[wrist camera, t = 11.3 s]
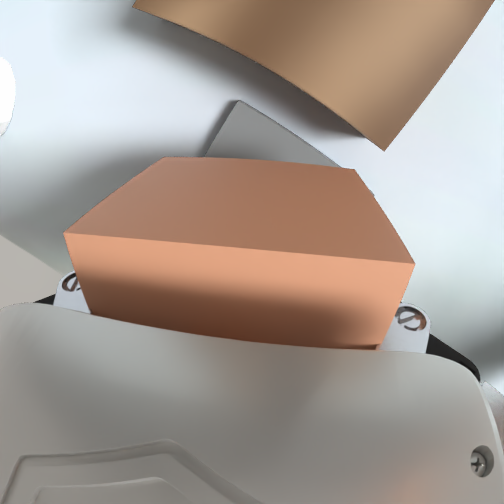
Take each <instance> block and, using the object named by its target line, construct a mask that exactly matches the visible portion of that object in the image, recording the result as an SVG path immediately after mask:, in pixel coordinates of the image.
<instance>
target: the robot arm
mask: <svg viewBox="0 0 504 504" xmlns="http://www.w3.org/2000/svg"><path fill="white" fill-rule="evenodd" d="M430 327H431V321H430V319H429V316H428V315H427V314H426V313H425V311H423V310H422V309H421V308H419V307H417V306H415V305H413V304H409V303H402V302H400V304H399V307H398V309H397V311H396V314H395V316H394V318H393V320H392V323H391V325H390V327H389V329H388V331H387V334H386V336H385V338H384V340H383V342H382V344H377V346H376V349H375V350H360V349H336V348H319V347H304V346H292V345H280V344H269V343H259V342H250V341H241V340H233V339H225V338H218V337H210V336H203V335H197V334H190V333H184V332H178V331H172V330H166V329H161V328H155V327H150V326H145V325H140V324H135V323H130V322H125V321H120V320H115V319H110V318H106V317H101V316H97V315H94V314H93V312H92V309H89V308H88V306H87V303H86V301H85V298H84V296H83V293H82V290H81V287H80V285H79V282H78V279H77V276H76V273H75V271H72V272H70V273H68V274H66V275H65V276H64V277H63V278H62V279H61V280H60V282H59V284H58V287H57V291H56V294H54V295H52V296H49V297H46V298H44V299H41V300H39V301H36V302H33V303H20V304H13V305H10V306H7V307H4V308H2V309H1V310H0V504H504V396H503V395H502V394H501V393H500V392H499V391H497V390H496V389H495V388H494V387H492V386H491V385H490V384H489V383H488V382H486V381H484V382H483V384H482V383H481V382H480V374H479V371H478V369H477V368H476V366H475V365H474V364H473V363H472V362H471V361H470V360H468V359H467V358H465V357H464V356H463V355H461V354H460V353H458V352H457V351H455V350H454V349H452V348H451V347H449V346H448V345H446V344H445V343H443V342H442V341H440V340H439V339H437V338H436V337H434V336H433V335H431V334H430Z"/></svg>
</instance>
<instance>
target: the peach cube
mask: <svg viewBox="0 0 504 504" xmlns="http://www.w3.org/2000/svg"><path fill="white" fill-rule="evenodd" d="M63 234H64V238H65V241H66V245H67V248H68V251H69V255H70V258H71V261H72V264H73V267H74V270H75V273H76V276H77V279H78V282H79V285H80V287H81V290H82V293H83V296H84V298H85V301H86V303H87V306H88V308H89V309H92V312H93V314H94V315H97V316H101V317H106V318H110V319H115V320H120V321H125V322H130V323H135V324H140V325H145V326H150V327H155V328H161V329H166V330H172V331H178V332H184V333H190V334H197V335H203V336H210V337H218V338H225V339H233V340H241V341H250V342H259V343H269V344H280V345H292V346H304V347H319V348H336V349H360V350H375V349H376V346H377V344H382V342H383V340H384V338H385V336H386V334H387V331H388V329H389V327H390V325H391V323H392V320H393V318H394V316H395V314H396V311H397V309H398V307H399V304H400V302H401V300H402V297H403V295H404V292H405V290H406V287H407V285H408V282H409V280H410V277H411V274H412V272H413V269H414V266H415V262H414V261H413V259H412V257H411V255H410V254H409V252H408V250H407V249H406V247H405V245H404V243H403V242H402V240H401V238H400V237H399V235H398V234H397V232H396V230H395V229H394V227H393V225H392V224H391V222H390V221H389V219H388V218H387V216H386V214H385V213H384V211H383V210H382V208H381V207H380V205H379V204H378V202H377V201H376V199H375V198H374V196H373V195H372V193H371V192H370V191H369V189H368V188H367V186H366V185H365V183H364V182H363V181H362V179H361V178H360V176H359V175H358V174H357V172H356V171H355V169H347V168H340V167H332V166H323V165H315V164H305V163H295V162H283V161H271V160H256V159H238V158H212V157H163V158H162V159H160V160H158V161H157V162H155V163H154V164H152V165H151V166H149V167H148V168H147V169H145V170H144V171H142V172H141V173H139V174H138V175H136V176H135V177H134V178H132V179H131V180H129V181H128V182H127V183H125V184H124V185H122V186H121V187H120V188H118V189H117V190H116V191H114V192H113V193H112V194H110V195H109V196H108V197H106V198H105V199H104V200H102V201H101V202H100V203H99V204H97V205H96V206H95V207H93V208H92V209H91V210H90V211H88V212H87V213H86V214H85V215H83V216H82V217H81V218H80V219H79V220H77V221H76V222H75V223H74V224H73V225H71V226H70V227H69V228H68V229H67V230H66V231H64V232H63Z"/></svg>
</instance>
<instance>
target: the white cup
mask: <svg viewBox="0 0 504 504" xmlns="http://www.w3.org/2000/svg"><path fill="white" fill-rule="evenodd" d="M14 104H15V78H14V75H13V71H12V68H11V65H10V64H9V63H8V62H7V61H6V60H5V59H4V58H3V57H0V136H1V135H2V134H4V132H5V130H6V128H7V126H8V124H9V123H10V121H11V118H12V113H13V109H14Z"/></svg>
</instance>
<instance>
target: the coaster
mask: <svg viewBox="0 0 504 504" xmlns="http://www.w3.org/2000/svg"><path fill="white" fill-rule="evenodd" d="M204 157H212V158H238V159H256V160H271V161H283V162H295V163H305V164H315V165H323V166H332V167H340V166H339V165H337V164H336V163H335V162H333V161H332V160H331V159H329V158H328V157H327V156H325V155H324V154H323V153H321V152H320V151H318V150H317V149H316V148H314V147H313V146H311V145H310V144H308V143H307V142H306V141H304V140H303V139H301V138H300V137H298V136H297V135H295V134H294V133H292V132H291V131H289V130H288V129H286V128H285V127H283V126H282V125H280V124H279V123H277V122H276V121H274V120H272V119H271V118H269V117H268V116H266V115H264V114H263V113H261V112H260V111H258V110H256V109H255V108H253V107H251V106H250V105H248V104H246V103H245V102H243V101H241V100H239V101H238V102H237V103H236V105H235V106H234V108H233V110H232V111H231V113H230V114H229V116H228V118H227V119H226V121H225V122H224V124H223V126H222V127H221V129H220V130H219V132H218V134H217V135H216V137H215V139H214V140H213V142H212V144H211V145H210V147H209V149H208V151H207V152H206V154H205V156H204ZM340 168H341V167H340ZM369 191H370V192H371V193H372V191H371V190H369ZM372 195H373V196H374V194H373V193H372Z"/></svg>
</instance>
